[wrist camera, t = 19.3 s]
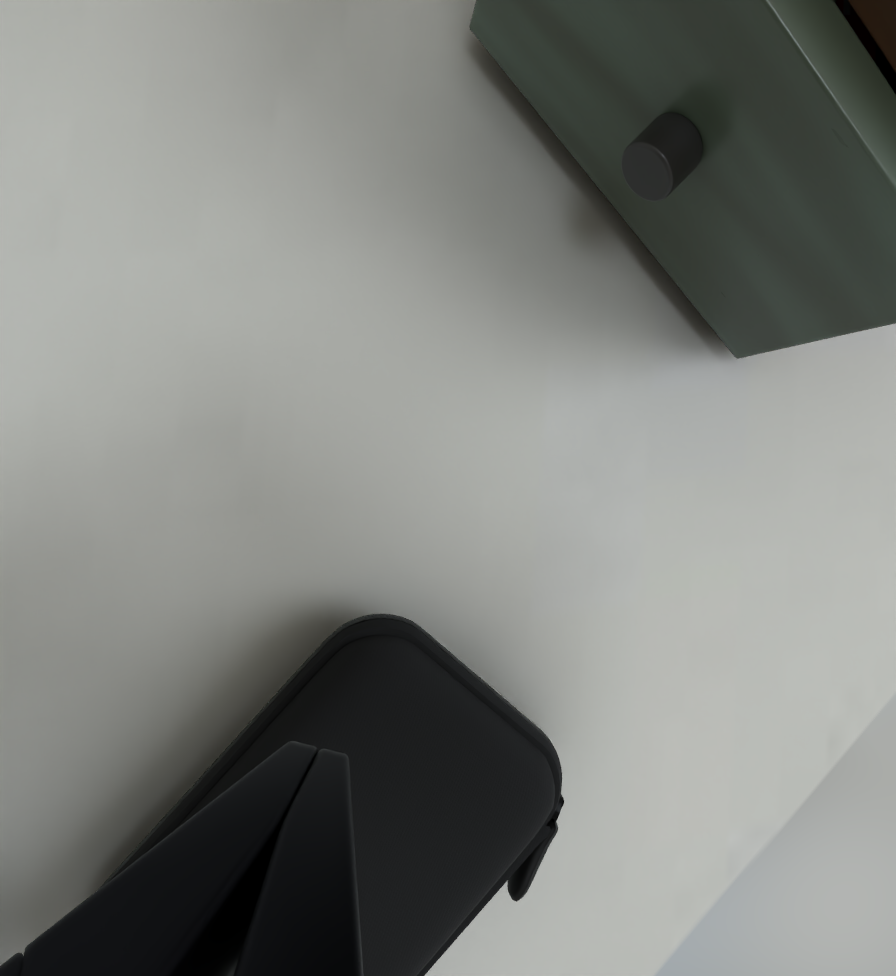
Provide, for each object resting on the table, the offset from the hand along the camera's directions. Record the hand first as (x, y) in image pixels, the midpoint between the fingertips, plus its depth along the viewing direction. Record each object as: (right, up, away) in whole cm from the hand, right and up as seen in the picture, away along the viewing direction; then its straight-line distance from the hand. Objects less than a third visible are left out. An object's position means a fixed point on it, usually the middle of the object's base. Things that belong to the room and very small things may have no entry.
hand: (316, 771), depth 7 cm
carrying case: (-2, -8, +11) cm, 14 cm away
